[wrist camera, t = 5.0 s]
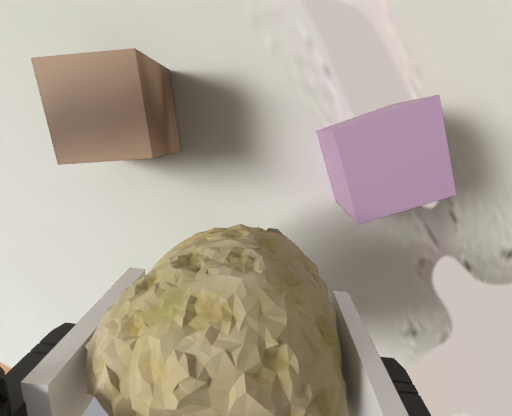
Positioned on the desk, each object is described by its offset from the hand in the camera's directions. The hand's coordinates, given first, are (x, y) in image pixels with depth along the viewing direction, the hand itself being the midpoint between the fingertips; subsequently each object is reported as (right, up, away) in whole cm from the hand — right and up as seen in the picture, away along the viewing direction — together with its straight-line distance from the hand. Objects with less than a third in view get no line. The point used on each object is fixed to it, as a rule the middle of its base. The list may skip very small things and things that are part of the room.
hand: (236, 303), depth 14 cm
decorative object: (0, 0, +1) cm, 1 cm away
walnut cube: (-7, +11, +4) cm, 14 cm away
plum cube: (+8, +8, +4) cm, 12 cm away
